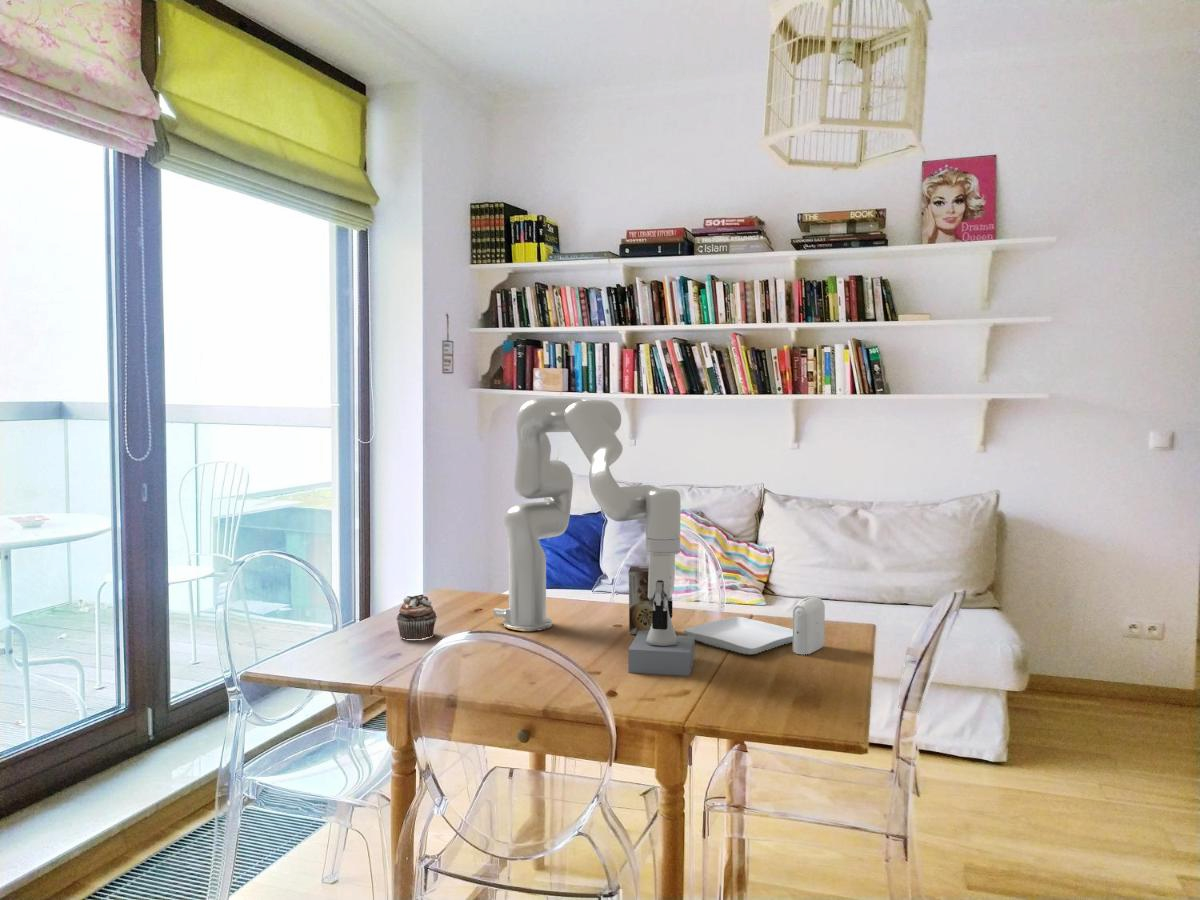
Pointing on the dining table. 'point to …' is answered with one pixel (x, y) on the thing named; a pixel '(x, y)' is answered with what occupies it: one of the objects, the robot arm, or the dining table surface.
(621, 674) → the dining table surface
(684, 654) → the slate block
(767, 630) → the salad plate
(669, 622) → the flask
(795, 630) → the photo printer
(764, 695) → the dining table surface
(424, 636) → the cupcake
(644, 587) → the coffee box
